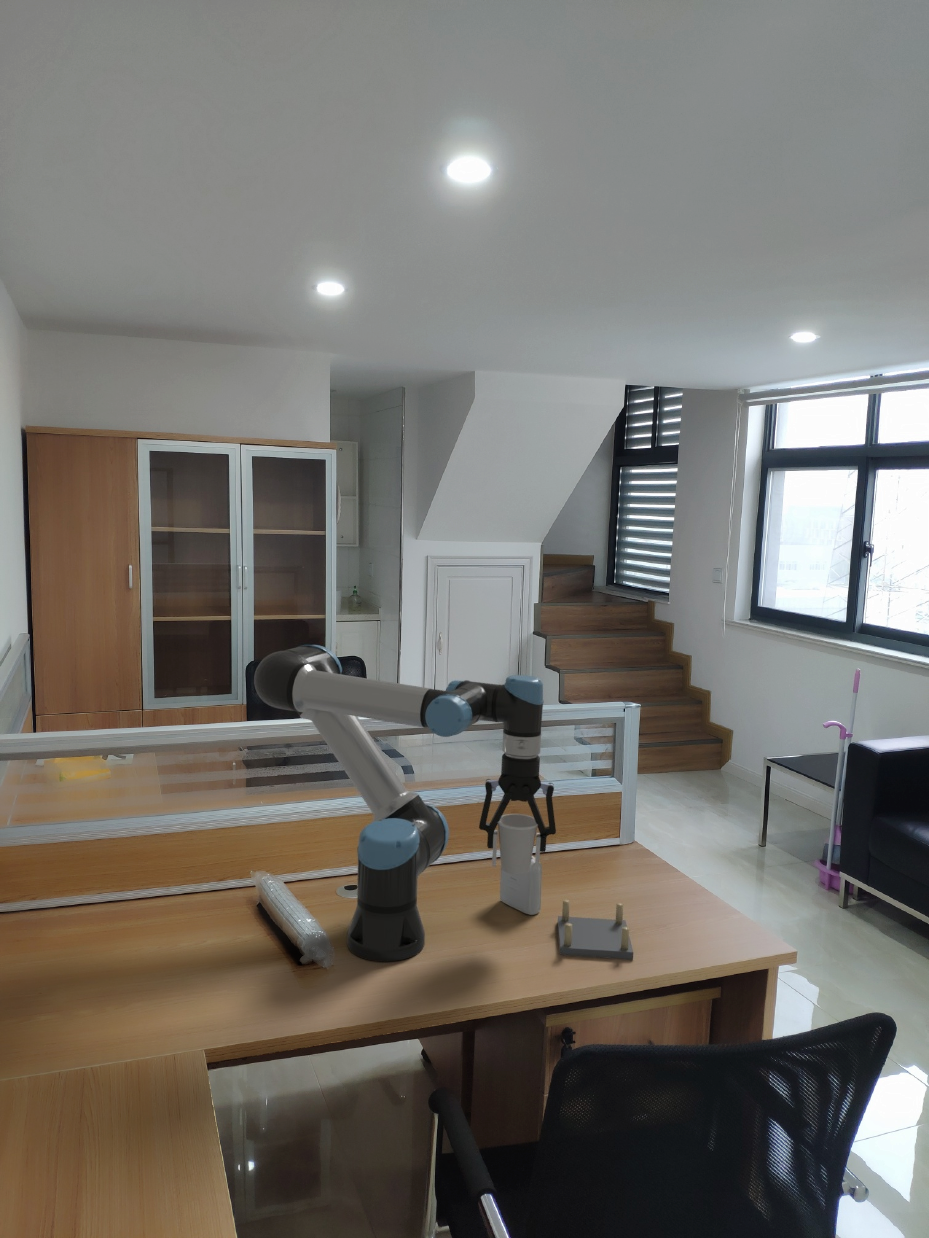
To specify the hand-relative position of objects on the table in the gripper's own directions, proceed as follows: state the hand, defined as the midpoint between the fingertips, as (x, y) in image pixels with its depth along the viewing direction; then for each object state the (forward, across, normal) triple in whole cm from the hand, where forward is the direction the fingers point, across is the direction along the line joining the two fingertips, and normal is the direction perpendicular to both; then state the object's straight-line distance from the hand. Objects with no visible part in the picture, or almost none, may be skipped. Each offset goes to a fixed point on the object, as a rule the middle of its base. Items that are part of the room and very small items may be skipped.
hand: (515, 864), depth 176 cm
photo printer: (+15, +1, +14) cm, 21 cm away
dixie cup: (+1, 0, 0) cm, 1 cm away
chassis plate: (+15, +16, 0) cm, 22 cm away
